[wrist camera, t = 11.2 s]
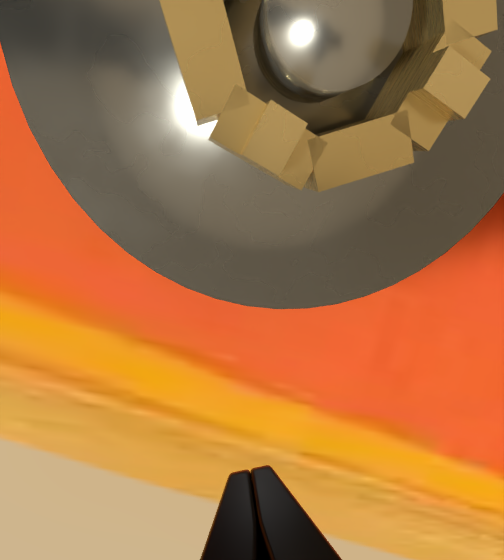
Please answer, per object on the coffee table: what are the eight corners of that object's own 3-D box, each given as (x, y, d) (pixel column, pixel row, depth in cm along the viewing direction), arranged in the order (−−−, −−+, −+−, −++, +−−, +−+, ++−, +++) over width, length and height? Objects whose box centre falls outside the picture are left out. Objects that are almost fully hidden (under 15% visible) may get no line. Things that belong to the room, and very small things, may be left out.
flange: (223, 371, 18) (230, 437, 14) (-133, -85, 12) (-326, -223, 7) (594, 142, 17) (724, 138, 13) (435, -523, 10) (602, -1000, 6)
